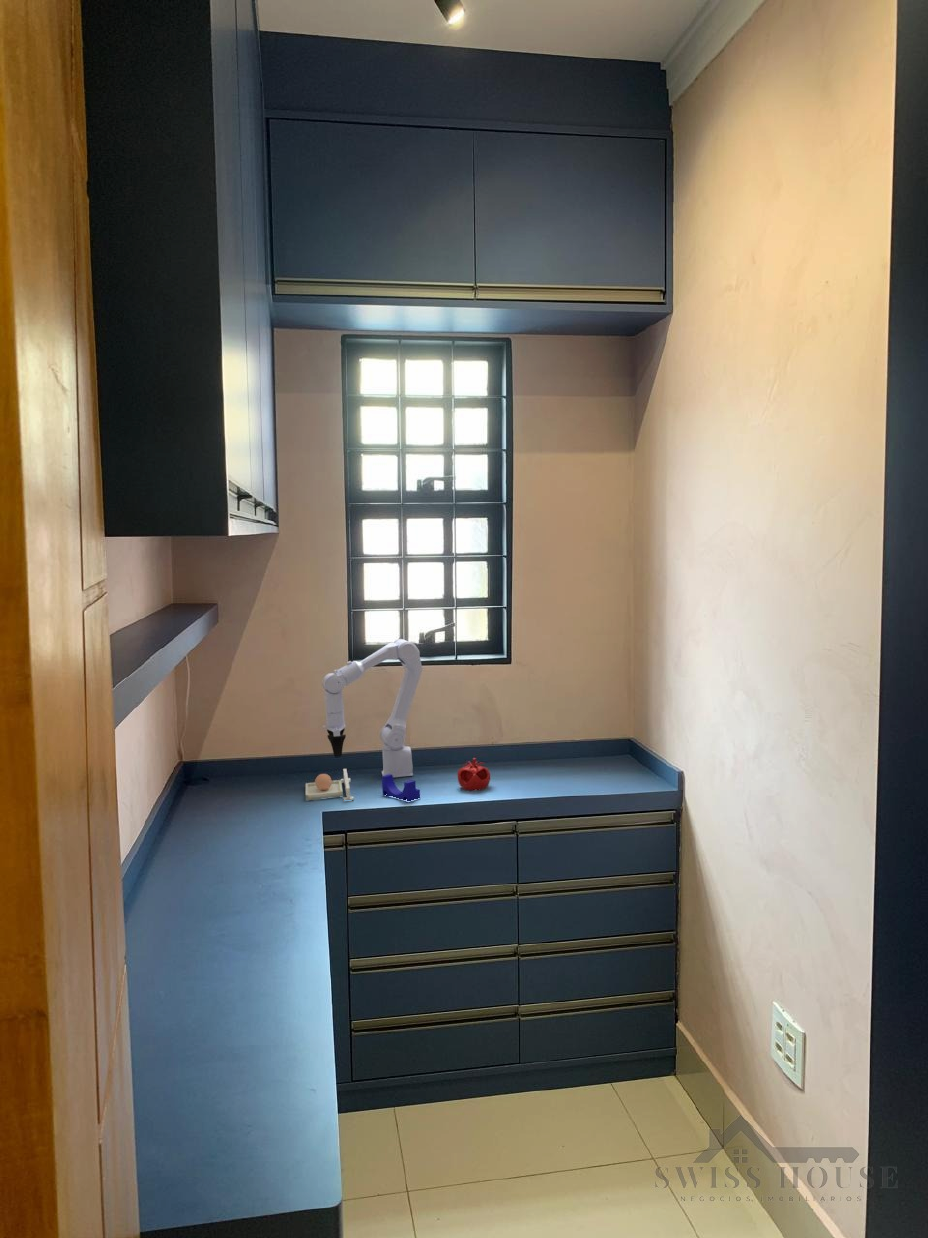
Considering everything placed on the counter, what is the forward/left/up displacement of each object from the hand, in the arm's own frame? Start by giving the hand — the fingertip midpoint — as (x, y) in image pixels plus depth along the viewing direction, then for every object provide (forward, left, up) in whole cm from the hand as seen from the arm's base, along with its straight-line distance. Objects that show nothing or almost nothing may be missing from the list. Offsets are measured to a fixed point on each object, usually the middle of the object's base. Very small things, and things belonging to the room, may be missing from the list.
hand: (337, 753), depth 278 cm
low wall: (-2, +10, -9) cm, 14 cm away
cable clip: (-18, +22, -10) cm, 29 cm away
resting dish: (+5, +10, -9) cm, 15 cm away
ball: (+5, +10, -6) cm, 13 cm away
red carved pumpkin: (-40, +20, -10) cm, 46 cm away
